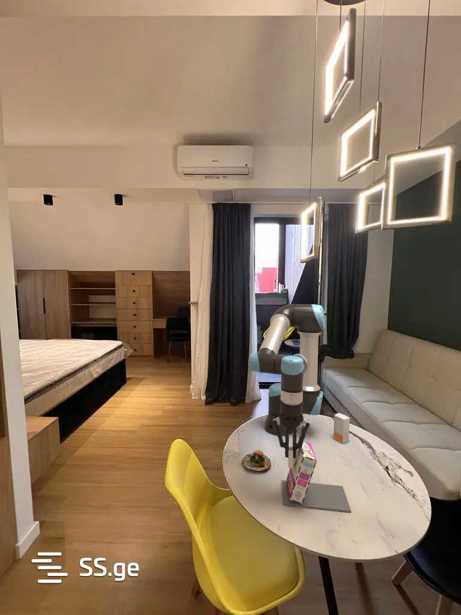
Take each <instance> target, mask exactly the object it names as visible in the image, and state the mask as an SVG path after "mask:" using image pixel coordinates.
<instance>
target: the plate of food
mask: <svg viewBox="0 0 461 615" xmlns="http://www.w3.org/2000/svg"><path fill="white" fill-rule="evenodd" d="M271 462H272V461H271V459H270V458H269V457H268V456H266V455H265V454H264V452H263V451H262V450H261V448H258V449H256V450H254V451H253V452H252V453H249V454H247V455H245V456H244V457H243V458H242V460H241V463H242V465H243V466H244V467H245V468H247V469H249V470H251V471H256V472H258V471H259V472H260V471H261V472H263V471H266V472H269V471H270V470H271V467H272V463H271Z"/></svg>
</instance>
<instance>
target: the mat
mask: <svg viewBox="0 0 461 615" xmlns="http://www.w3.org/2000/svg"><path fill="white" fill-rule="evenodd" d="M281 487H282V488H281V489H282V492H281V493H282V506H284V507H285V506H286V507H295V508H296V507H297V508H305V509H312V510H314V509H315V510H322V511H332V512H343V513H352V510H351V506H350V503H349V500H348V498H347V495H346V492H345V489H344V486H343V485H335V484H327V483H326V484H325V483H315V482H310V483H309V487H308V489H307V493H306V496H305V499H304V502H303V504H300V503H297V502H294V501H291V500H290V499H289V492H288V486H287V479H286V480H284V479H283V480H281Z"/></svg>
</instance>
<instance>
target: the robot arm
mask: <svg viewBox="0 0 461 615" xmlns="http://www.w3.org/2000/svg"><path fill="white" fill-rule="evenodd" d="M325 317H326V316H325V311H324V308H323V306H322V305H319V304H312V303H311V304H305V303H304V304H302V303H298V304H297V303H290V304H285V305H283V306H281V307H279V308H278V309H277V310H276V311H275V312H274V313H273V314H272V315H271V317H270V321H269V324H270V325H269V327H268V328H267V329H268V330H267V332H266V334H265V335H264V336H265V337H264V339H263V341H262V343H261V346H260V347H259V350H258V351H257V352H251V353H250V354H249V356H248V362H247V364H248V369H249V371H251V372H255V373H261V374H268V375H269V374H270V375H278V376H279V375H280V382H276V383H273V384H271V385H270V386H269V388H268V394H267V396H268V405H267V406H268V407H267V408H268V410H267V411H268V413H267V417H266V420H265V422H264V429H265V431H266V432H267V433H268V434H271V435H273V436H276V437H277V438H278V442H279V447H280V448H283V449H284V456H285V458H287V466H288V467H287V468H288V469H290V468H293V458H296V450H297V449H301V448H302V445H303V442H304V441H305V437H306V434H307V432H308V429H309V428H310V426H311V423H310V420H308V419H306V418H304V415H308V416H319V415H320V413H321V408H322V402H323V398H324V397H323V396H324V392H323V391H322V390H321V386H319V384H318V367H319V366H318V364H319V363H318V361H319V359H318V358H319V357H318V356H319V336H320V335H321V334H322V333H323V330H325V329H326V320H325ZM290 328H293V329H294V328H295V329H296V330H297V333H298V335H299V337H300V339H299V353H295V354H293V355H284V354H278V353H279V350H280V347H281V344H282V342H283V339H284V336H285V333H286V331H287V330H288V329H290ZM303 414H304V415H303ZM301 424H302V425H301ZM300 425H301V426H302V427H301V429H300V433H299V437H298V436H297V431H298V428H299V427H300ZM290 435H292V445H290ZM283 437H284V439H283ZM297 437H298V438H297ZM297 439H298V441H297Z"/></svg>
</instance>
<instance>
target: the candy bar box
mask: <svg viewBox="0 0 461 615" xmlns="http://www.w3.org/2000/svg"><path fill="white" fill-rule="evenodd" d="M313 448H314V447H313V445H312V443H311V442H307V441H305V440H304V442H303V445H302V448H301V449H297V450H296V458H293V468H288V469H289V470H288V473H287V477H286V481H287V486H288V492H289V499H290V500H291V501H294V502H297V503H300V504H303V502H304V499H305V496H306V493H307V489H308V487H309V483H311V481H312V477H313V475H314V471H315V469H316V465H317V462H318V461H317V456H316V455H315V451H314V449H313Z"/></svg>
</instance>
